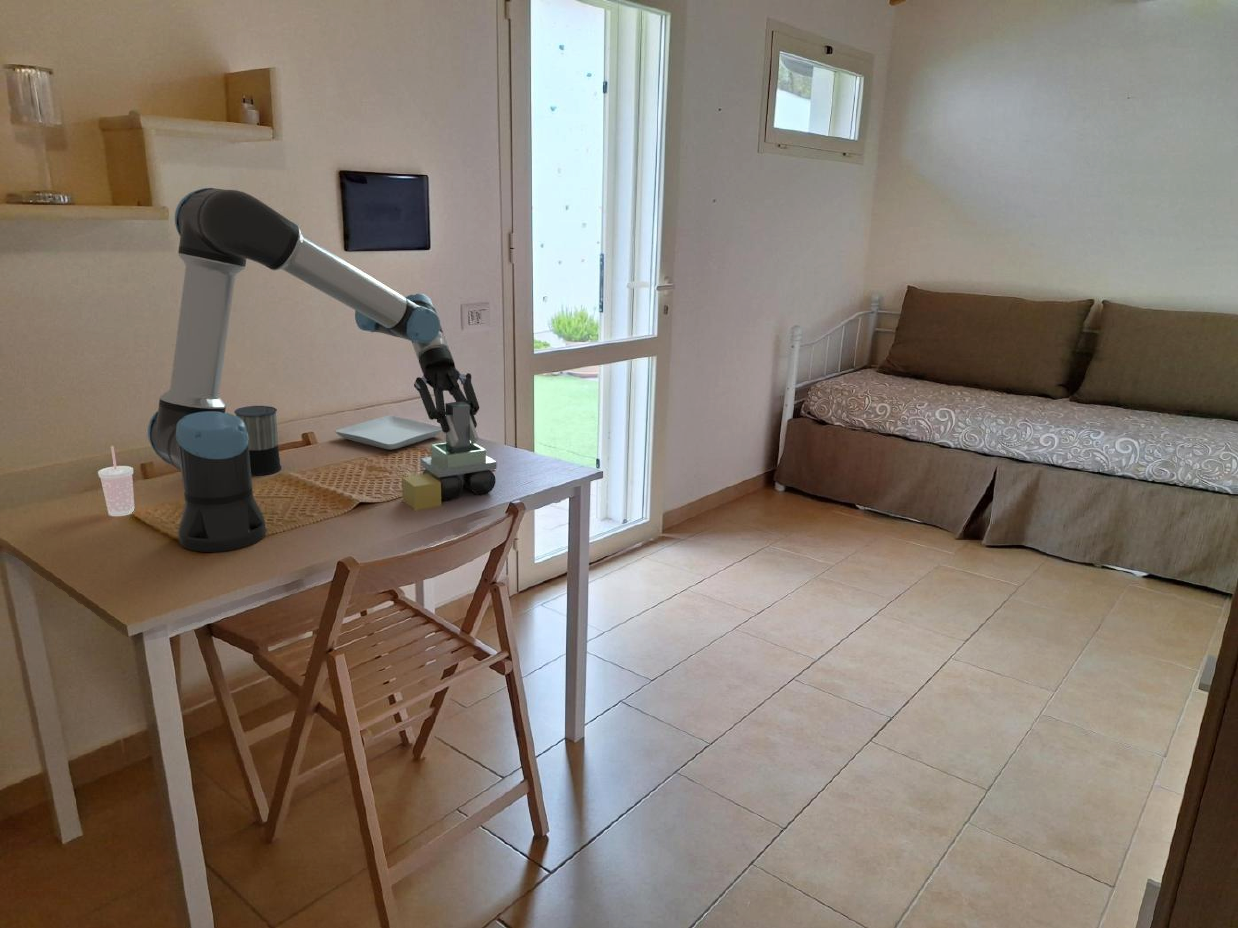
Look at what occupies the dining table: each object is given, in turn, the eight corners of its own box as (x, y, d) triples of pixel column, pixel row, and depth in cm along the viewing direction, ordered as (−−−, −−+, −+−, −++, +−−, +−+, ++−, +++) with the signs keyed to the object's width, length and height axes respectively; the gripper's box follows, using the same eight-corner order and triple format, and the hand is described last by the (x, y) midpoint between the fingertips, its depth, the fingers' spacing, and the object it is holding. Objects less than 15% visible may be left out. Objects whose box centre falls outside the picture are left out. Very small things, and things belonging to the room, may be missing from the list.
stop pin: (453, 455, 183) (452, 407, 179) (446, 450, 186) (445, 403, 183) (470, 452, 185) (469, 405, 182) (462, 448, 188) (462, 401, 185)
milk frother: (290, 469, 198) (285, 409, 194) (232, 486, 185) (225, 422, 181) (251, 458, 205) (245, 400, 201) (192, 474, 192) (185, 412, 187)
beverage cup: (101, 510, 168) (91, 444, 164) (135, 504, 172) (126, 440, 168) (107, 519, 164) (97, 452, 160) (141, 513, 168) (132, 447, 163)
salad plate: (390, 456, 213) (390, 443, 212) (333, 441, 223) (332, 429, 222) (446, 438, 230) (446, 426, 229) (391, 425, 240) (390, 414, 239)
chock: (415, 510, 176) (414, 486, 174) (402, 500, 182) (401, 477, 180) (441, 506, 180) (440, 482, 178) (428, 496, 185) (427, 473, 183)
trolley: (438, 503, 181) (437, 457, 177) (421, 489, 188) (420, 445, 185) (496, 493, 188) (496, 449, 185) (477, 480, 196) (477, 438, 193)
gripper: (401, 347, 182) (432, 438, 174) (473, 343, 191) (505, 429, 183) (394, 367, 187) (423, 455, 180) (463, 362, 197) (494, 446, 189)
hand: (465, 442), depth 181 cm, fingers closed on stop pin, 4 cm apart
